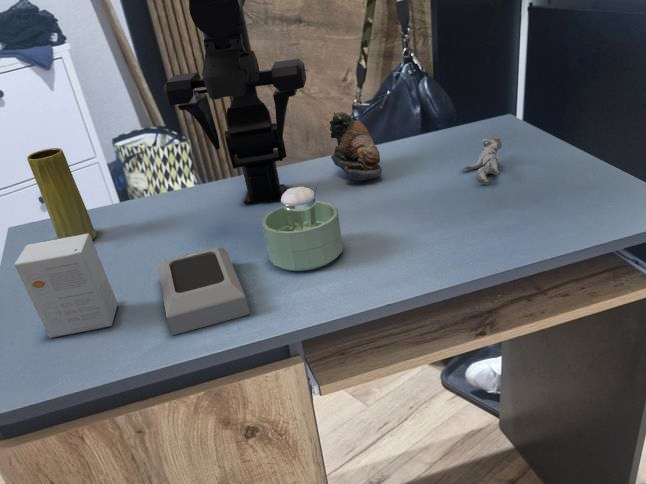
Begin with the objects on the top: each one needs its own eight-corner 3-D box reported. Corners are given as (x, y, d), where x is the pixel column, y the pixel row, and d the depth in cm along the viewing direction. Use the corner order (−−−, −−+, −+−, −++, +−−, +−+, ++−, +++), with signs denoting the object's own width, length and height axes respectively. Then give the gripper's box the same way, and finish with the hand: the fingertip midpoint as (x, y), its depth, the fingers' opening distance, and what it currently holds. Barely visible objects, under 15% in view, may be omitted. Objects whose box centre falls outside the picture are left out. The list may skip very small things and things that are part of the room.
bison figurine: (391, 178, 110) (386, 118, 104) (356, 189, 108) (348, 129, 102) (358, 162, 119) (351, 106, 114) (324, 172, 117) (316, 115, 111)
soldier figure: (463, 192, 104) (456, 147, 111) (484, 206, 106) (476, 160, 113) (499, 160, 99) (489, 114, 106) (520, 175, 101) (509, 130, 108)
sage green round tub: (274, 244, 94) (266, 205, 91) (343, 236, 93) (338, 197, 90) (266, 277, 86) (257, 236, 82) (342, 269, 85) (335, 227, 82)
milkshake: (323, 259, 87) (312, 189, 81) (287, 259, 88) (273, 189, 82) (333, 244, 90) (322, 175, 84) (297, 244, 92) (285, 176, 86)
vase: (61, 251, 102) (24, 163, 94) (57, 238, 106) (22, 154, 98) (100, 240, 104) (67, 153, 96) (94, 228, 108) (62, 144, 100)
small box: (119, 305, 84) (91, 232, 79) (112, 327, 80) (82, 251, 74) (58, 316, 84) (25, 243, 78) (48, 339, 79) (12, 263, 73)
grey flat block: (163, 309, 74) (154, 258, 86) (172, 335, 76) (162, 282, 89) (243, 288, 76) (223, 240, 88) (250, 314, 78) (230, 264, 90)
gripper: (136, 46, 77) (172, 172, 86) (288, 25, 76) (309, 155, 84) (160, 30, 86) (190, 146, 95) (296, 12, 85) (314, 131, 94)
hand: (249, 145), depth 92 cm, fingers open, 9 cm apart
